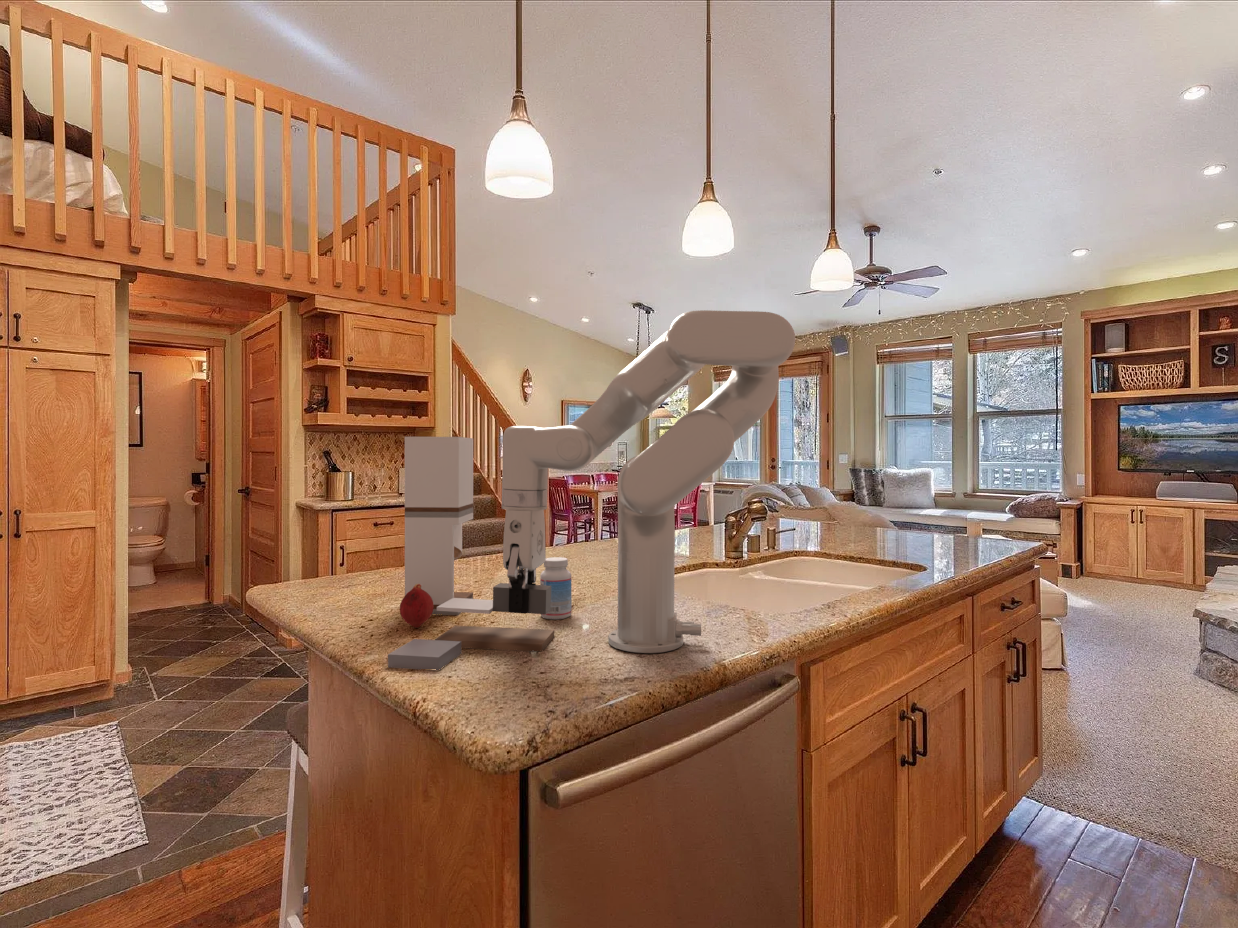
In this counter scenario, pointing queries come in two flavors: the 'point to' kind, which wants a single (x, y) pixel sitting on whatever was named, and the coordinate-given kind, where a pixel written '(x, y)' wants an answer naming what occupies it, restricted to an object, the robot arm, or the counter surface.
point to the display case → (436, 513)
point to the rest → (499, 638)
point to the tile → (424, 654)
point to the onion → (416, 606)
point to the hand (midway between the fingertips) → (522, 608)
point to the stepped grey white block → (501, 601)
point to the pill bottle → (557, 587)
